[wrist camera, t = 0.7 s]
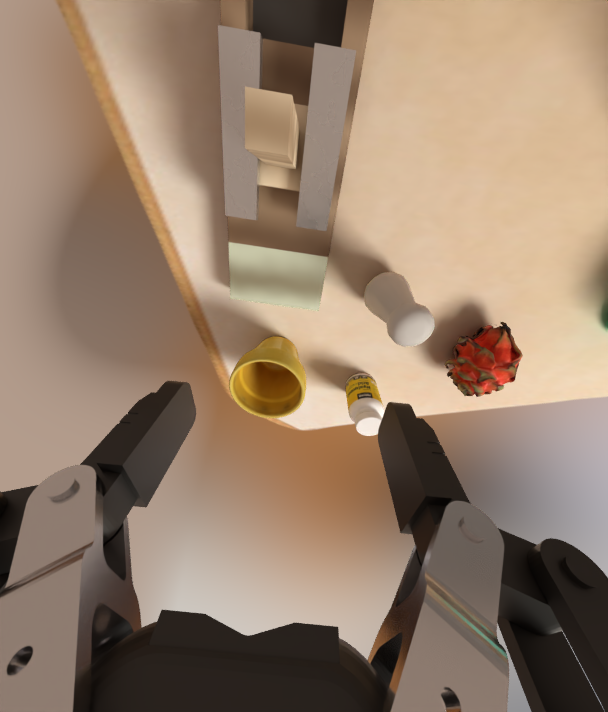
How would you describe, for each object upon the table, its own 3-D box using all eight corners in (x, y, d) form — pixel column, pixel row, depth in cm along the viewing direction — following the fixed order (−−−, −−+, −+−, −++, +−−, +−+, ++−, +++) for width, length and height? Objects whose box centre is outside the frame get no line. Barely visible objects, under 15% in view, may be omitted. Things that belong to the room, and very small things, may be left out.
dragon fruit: (440, 375, 43) (470, 310, 38) (496, 397, 39) (538, 327, 34) (431, 391, 37) (466, 315, 32) (497, 420, 32) (550, 337, 27)
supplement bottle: (367, 367, 41) (380, 408, 33) (380, 388, 43) (395, 432, 35) (339, 379, 43) (344, 422, 34) (352, 399, 45) (361, 443, 37)
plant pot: (233, 345, 40) (211, 382, 31) (283, 313, 36) (273, 345, 28) (272, 386, 44) (262, 428, 36) (319, 360, 41) (320, 401, 32)
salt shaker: (353, 287, 34) (370, 328, 23) (388, 258, 31) (427, 288, 20) (376, 316, 36) (403, 366, 25) (411, 290, 34) (457, 333, 23)
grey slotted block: (232, 51, 20) (217, 24, 17) (350, 72, 21) (356, 50, 18) (235, 213, 27) (225, 215, 24) (325, 228, 27) (326, 231, 24)
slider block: (256, 105, 22) (215, 39, 13) (320, 116, 22) (323, 59, 13) (254, 184, 25) (221, 174, 16) (310, 193, 25) (308, 188, 17)
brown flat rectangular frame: (228, -138, 17) (213, -196, 15) (389, -104, 18) (401, -155, 15) (236, 291, 35) (230, 298, 32) (318, 303, 35) (318, 311, 33)
